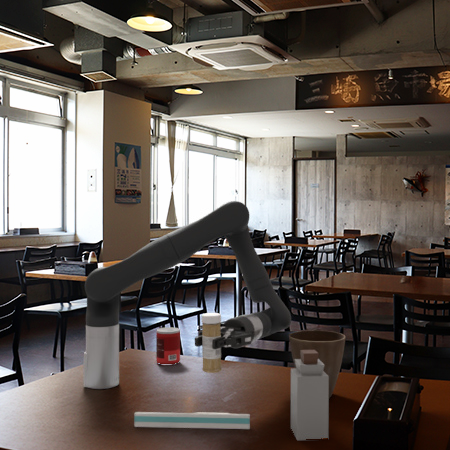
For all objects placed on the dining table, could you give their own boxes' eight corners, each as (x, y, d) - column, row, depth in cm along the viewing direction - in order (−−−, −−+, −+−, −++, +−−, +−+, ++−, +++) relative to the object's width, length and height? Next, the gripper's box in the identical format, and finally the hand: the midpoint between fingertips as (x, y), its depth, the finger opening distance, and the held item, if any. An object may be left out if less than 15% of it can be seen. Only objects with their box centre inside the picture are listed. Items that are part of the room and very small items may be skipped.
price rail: (134, 426, 121) (134, 413, 121) (142, 412, 131) (143, 399, 131) (249, 429, 120) (249, 415, 120) (249, 413, 130) (249, 401, 130)
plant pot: (300, 406, 136) (300, 342, 136) (281, 388, 150) (281, 331, 150) (355, 402, 139) (355, 340, 139) (331, 385, 153) (331, 328, 153)
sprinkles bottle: (213, 367, 130) (212, 311, 129) (225, 371, 126) (224, 314, 126) (198, 370, 127) (197, 313, 127) (210, 374, 123) (209, 316, 123)
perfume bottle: (290, 428, 121) (290, 348, 121) (320, 427, 121) (320, 347, 121) (297, 440, 114) (297, 355, 114) (328, 439, 115) (328, 355, 115)
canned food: (183, 360, 180) (183, 328, 180) (173, 366, 173) (173, 332, 173) (162, 359, 183) (163, 326, 183) (152, 364, 175) (152, 331, 175)
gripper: (219, 313, 142) (180, 324, 128) (267, 318, 134) (230, 330, 120) (219, 341, 142) (180, 355, 128) (267, 348, 134) (231, 364, 120)
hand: (205, 343), depth 124 cm, fingers closed on sprinkles bottle, 4 cm apart
